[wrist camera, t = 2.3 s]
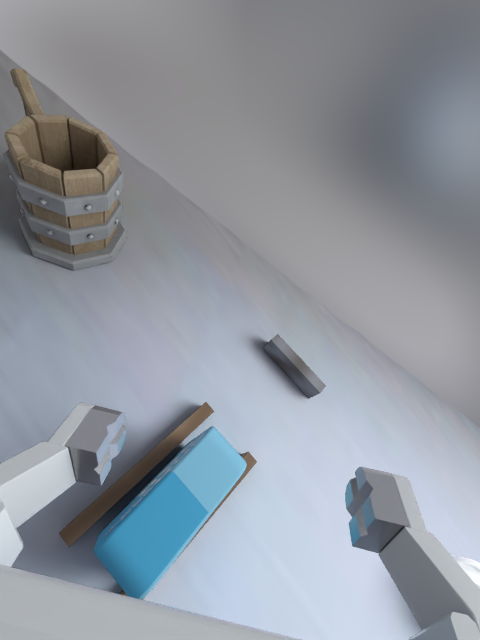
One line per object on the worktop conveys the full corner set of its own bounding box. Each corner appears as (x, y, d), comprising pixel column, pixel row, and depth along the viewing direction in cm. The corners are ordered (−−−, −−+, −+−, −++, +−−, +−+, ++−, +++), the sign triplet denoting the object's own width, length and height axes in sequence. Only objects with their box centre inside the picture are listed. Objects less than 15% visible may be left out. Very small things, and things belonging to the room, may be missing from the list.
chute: (59, 527, 29) (54, 530, 26) (269, 342, 47) (277, 334, 45) (124, 620, 27) (126, 632, 25) (314, 391, 46) (325, 385, 43)
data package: (188, 442, 36) (217, 421, 26) (214, 471, 36) (253, 461, 26) (97, 535, 29) (90, 553, 20) (127, 573, 29) (136, 611, 19)
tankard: (136, 256, 46) (146, 170, 34) (44, 278, 40) (14, 181, 27) (84, 166, 51) (76, 63, 39) (-6, 173, 45) (-50, 51, 32)
